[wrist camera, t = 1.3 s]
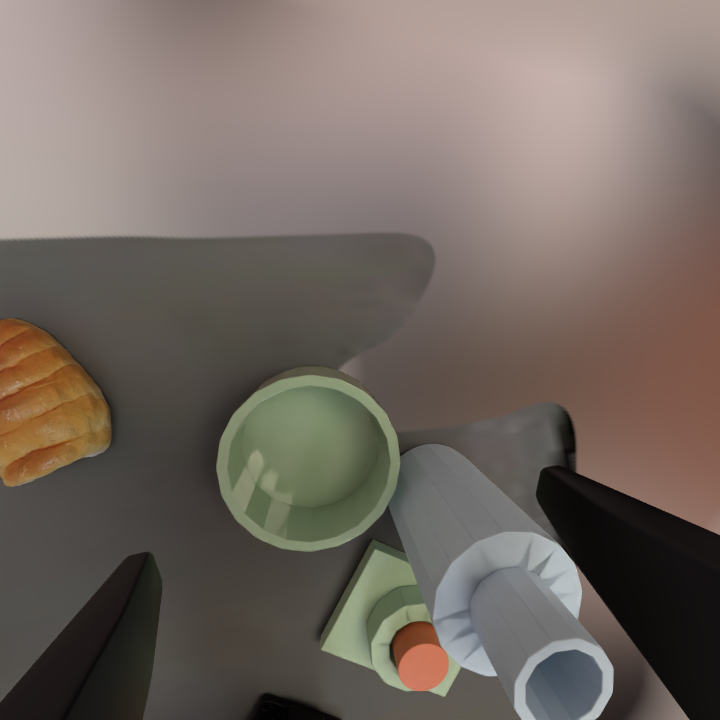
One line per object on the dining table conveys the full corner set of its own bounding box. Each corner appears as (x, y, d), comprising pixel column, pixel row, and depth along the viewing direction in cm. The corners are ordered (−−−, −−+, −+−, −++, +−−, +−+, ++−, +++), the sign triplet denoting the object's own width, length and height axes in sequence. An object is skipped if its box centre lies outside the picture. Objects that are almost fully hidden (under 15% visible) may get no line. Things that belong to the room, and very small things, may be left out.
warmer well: (343, 533, 26) (349, 577, 21) (208, 474, 24) (184, 508, 20) (411, 406, 25) (431, 424, 21) (278, 339, 24) (269, 343, 20)
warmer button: (425, 672, 25) (433, 698, 23) (383, 655, 24) (388, 681, 23) (448, 631, 25) (458, 654, 23) (406, 613, 24) (413, 636, 22)
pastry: (-51, 346, 22) (-127, 351, 18) (59, 299, 22) (7, 295, 19) (33, 482, 23) (-21, 514, 19) (135, 436, 24) (101, 457, 20)
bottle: (447, 544, 27) (594, 800, 12) (369, 509, 26) (432, 742, 12) (489, 466, 27) (689, 637, 12) (412, 428, 26) (531, 564, 11)
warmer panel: (439, 681, 28) (453, 724, 25) (320, 635, 26) (320, 675, 24) (490, 590, 28) (511, 622, 25) (372, 538, 26) (379, 566, 23)
